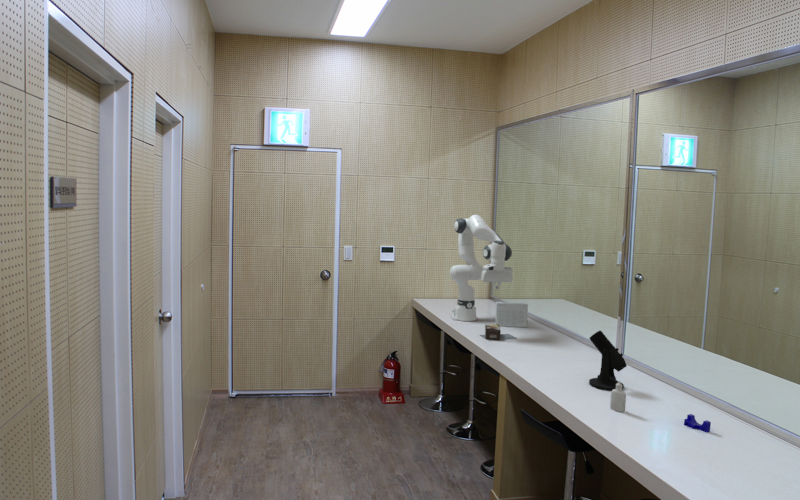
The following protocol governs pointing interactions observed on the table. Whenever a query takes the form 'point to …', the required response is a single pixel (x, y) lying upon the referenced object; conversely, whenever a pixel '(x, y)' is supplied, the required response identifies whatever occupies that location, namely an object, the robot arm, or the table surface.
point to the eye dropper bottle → (618, 398)
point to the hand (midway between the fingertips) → (496, 288)
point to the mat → (502, 336)
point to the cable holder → (694, 425)
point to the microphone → (607, 363)
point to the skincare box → (511, 314)
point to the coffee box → (492, 331)
